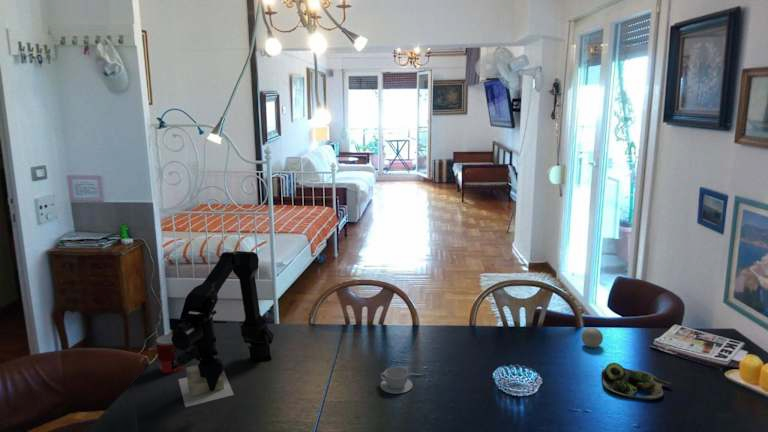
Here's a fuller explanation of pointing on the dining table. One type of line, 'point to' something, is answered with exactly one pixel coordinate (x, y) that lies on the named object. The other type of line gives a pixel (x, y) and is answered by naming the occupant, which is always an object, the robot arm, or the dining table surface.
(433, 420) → the dining table surface
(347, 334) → the dining table surface
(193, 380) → the beech slab
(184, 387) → the white flat tray
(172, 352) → the canned food
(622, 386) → the salad plate
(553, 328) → the dining table surface
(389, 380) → the teacup
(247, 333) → the robot arm
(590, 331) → the baseball
